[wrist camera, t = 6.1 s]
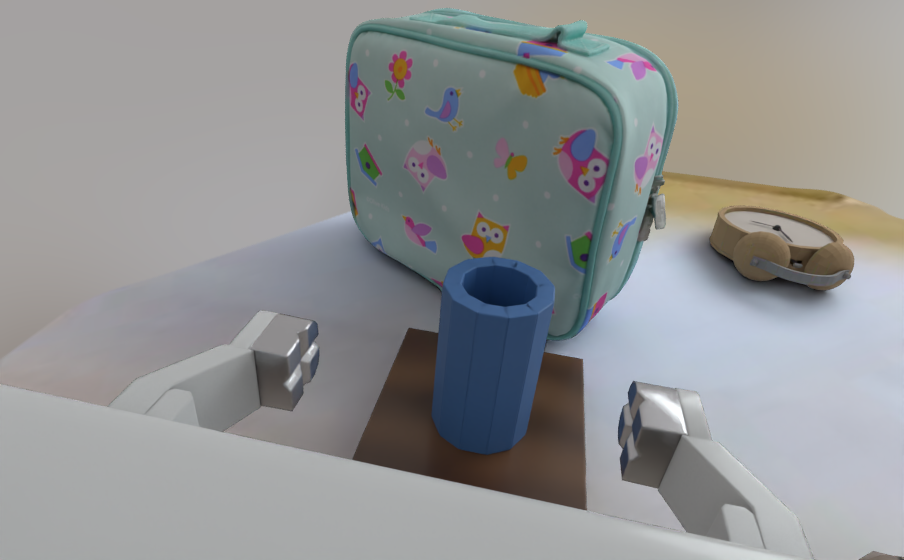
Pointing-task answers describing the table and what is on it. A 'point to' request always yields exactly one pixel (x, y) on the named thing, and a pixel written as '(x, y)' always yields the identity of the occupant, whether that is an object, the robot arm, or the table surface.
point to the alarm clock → (781, 247)
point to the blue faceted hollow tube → (489, 352)
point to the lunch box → (508, 149)
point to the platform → (512, 471)
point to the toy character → (880, 556)
